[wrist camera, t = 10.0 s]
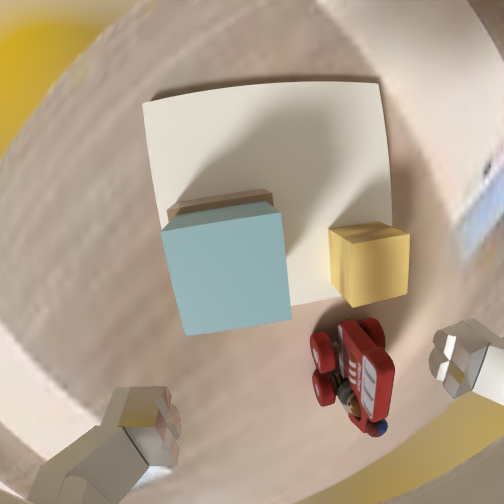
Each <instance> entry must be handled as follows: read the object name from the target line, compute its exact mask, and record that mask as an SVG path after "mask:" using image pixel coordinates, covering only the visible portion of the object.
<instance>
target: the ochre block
mask: <svg viewBox="0 0 504 504" xmlns="http://www.w3.org/2000/svg"><path fill="white" fill-rule="evenodd" d="M328 236H329V252H330V272H331V284H332V285H333V286H334V287H335V288H336V289H337V290H338V292H339V293H340V294H341V295H342V296H343V297H344V298H345V299H346V301H347V302H348V303H349V304H350V305H351V306H352V307H353V308H354V307H358V306H363V305H367V304H371V303H375V302H379V301H383V300H387V299H390V298H394V297H398V296H402V295H405V294H407V287H408V272H409V248H410V234H409V233H406V232H404V231H401V230H399V229H397V228H394V227H392V226H389V225H387V224H384V223H382V222H379V221H377V222H370V223H363V224H356V225H350V226H343V227H336V228H329V229H328Z"/></svg>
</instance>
